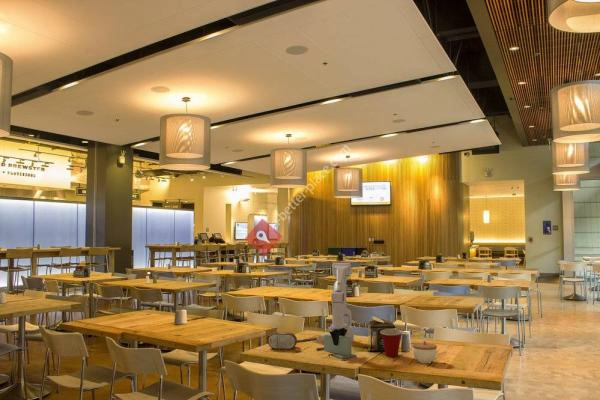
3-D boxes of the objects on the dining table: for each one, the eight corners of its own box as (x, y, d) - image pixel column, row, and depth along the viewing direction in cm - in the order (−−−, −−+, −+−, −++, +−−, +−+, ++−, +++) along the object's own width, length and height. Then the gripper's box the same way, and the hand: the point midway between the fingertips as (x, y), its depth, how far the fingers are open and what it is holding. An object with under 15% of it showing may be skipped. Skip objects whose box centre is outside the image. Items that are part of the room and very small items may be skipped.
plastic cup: (375, 356, 247) (375, 330, 248) (388, 352, 255) (387, 328, 256) (394, 359, 240) (394, 333, 241) (407, 356, 248) (406, 330, 249)
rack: (320, 340, 282) (320, 337, 283) (345, 348, 264) (345, 344, 264) (292, 344, 273) (292, 340, 273) (317, 352, 254) (317, 348, 254)
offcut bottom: (323, 341, 277) (323, 337, 277) (337, 345, 267) (337, 341, 267) (316, 342, 275) (316, 338, 275) (329, 346, 265) (329, 342, 265)
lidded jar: (411, 359, 241) (410, 338, 242) (434, 359, 241) (433, 339, 242) (415, 364, 231) (415, 343, 231) (439, 365, 230) (439, 343, 231)
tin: (297, 348, 263) (297, 332, 263) (296, 350, 259) (296, 333, 260) (268, 348, 264) (268, 331, 265) (267, 349, 261) (267, 332, 262)
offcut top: (324, 337, 276) (324, 334, 276) (336, 340, 268) (336, 336, 268) (318, 338, 273) (318, 334, 274) (331, 341, 266) (331, 337, 266)
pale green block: (328, 350, 256) (328, 333, 257) (351, 354, 247) (351, 337, 248) (324, 351, 253) (324, 334, 254) (347, 355, 245) (347, 338, 245)
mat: (335, 350, 260) (335, 348, 260) (356, 356, 245) (356, 355, 245) (320, 352, 255) (320, 350, 255) (341, 359, 240) (341, 357, 241)
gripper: (339, 314, 260) (339, 341, 259) (322, 317, 248) (322, 345, 247) (351, 315, 255) (351, 343, 254) (334, 318, 244) (334, 347, 243)
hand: (338, 344), depth 250 cm, fingers open, 3 cm apart
